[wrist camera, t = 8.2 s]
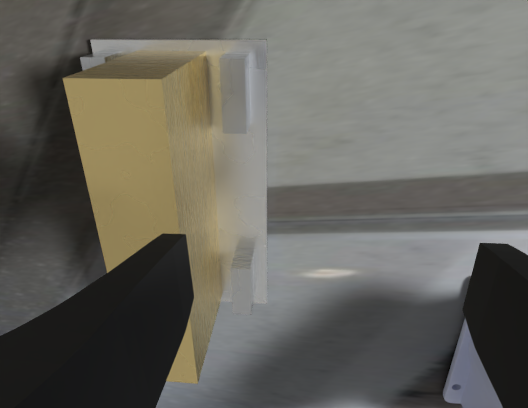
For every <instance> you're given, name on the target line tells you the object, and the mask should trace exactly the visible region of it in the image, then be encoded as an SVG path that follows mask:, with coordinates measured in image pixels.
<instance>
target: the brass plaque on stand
mask: <svg viewBox="0 0 528 408" xmlns="http://www.w3.org/2000/svg"><path fill="white" fill-rule="evenodd" d="M63 82H64V86H65V91H66V95H67V99H68V104H69V108H70V113H71V117H72V121H73V126H74V130H75V134H76V139H77V143H78V147H79V152H80V156H81V161H82V165H83V169H84V174H85V178H86V182H87V187H88V191H89V195H90V200H91V204H92V208H93V213H94V217H95V222H96V226H97V230H98V235H99V239H100V243H101V248H102V252H103V256H104V261H105V265H106V269H107V273H108V272H110V271H111V270H112V269H114V268H115V267H116V266H118V265H119V264H121V263H122V262H123V261H125V260H126V259H128V258H129V257H130V256H132V255H133V254H134V253H136V252H137V251H138V250H140V249H141V248H143V247H144V246H145V245H147V244H148V243H149V242H151V241H152V240H154V239H155V238H156V237H158V236H160V235H161V234H163V233H166V234H186V239H187V246H188V254H189V261H190V269H191V276H192V284H193V291H194V300H193V304H192V308H191V313H190V317H189V320H188V324H187V328H186V332H185V334H184V337H183V340H182V342H181V345H180V347H179V350H178V352H177V355H176V357H175V360H174V362H173V365H172V367H171V370H170V372H169V375H168V377H167V380H166V381H170V382H183V383H197V384H198V381H199V377H200V373H201V370H202V366H203V363H204V359H205V355H206V352H207V348H208V344H209V341H210V337H211V334H212V330H213V326H214V323H215V319H216V315H217V312H218V308H219V305H220V301H221V297H222V294H223V293H222V278H221V263H220V249H219V234H218V219H217V204H216V190H215V175H214V160H213V145H212V131H211V116H210V101H209V86H208V72H207V57H206V51H135V52H132V53H130V54H127V55H124V56H121V57H119V58H116V59H113V60H111V61H108V62H105V63H102V64H100V65H97V66H94V67H92V68H89V69H86V70H83V71H81V72H78V73H75V74H73V75H70V76H67V77H64V78H63Z"/></svg>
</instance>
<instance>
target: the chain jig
mask: <svg viewBox="0 0 528 408" xmlns="http://www.w3.org/2000/svg"><path fill="white" fill-rule="evenodd" d="M90 41H91V46H92V52H93V54H89V55H86V56H83V57H80V60H81V65H82V69H83V70H86V69H89V68H92V67H94V66H97V65H100V64H102V63H105V62H108V61H111V60H113V59H116V58H119V57H121V56H124V55H127V54H130V53H132V52H135V51H206V57H207V72H208V86H209V101H210V116H211V131H212V145H213V160H214V175H215V190H216V204H217V219H218V234H219V249H220V263H221V278H222V293H223V294H222V297H221V301H227V302H232V309H233V314H243V315H251V314H252V308H253V303H261V304H267V39H91V40H90Z"/></svg>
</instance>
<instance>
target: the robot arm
mask: <svg viewBox="0 0 528 408" xmlns="http://www.w3.org/2000/svg"><path fill="white" fill-rule="evenodd" d="M193 300H194V291H193V284H192V276H191V269H190V261H189V254H188V246H187V239H186V234H166V233H163V234H161V235H160V236H158V237H156V238H155V239H154V240H152V241H151V242H149V243H148V244H147V245H145V246H144V247H143V248H141V249H140V250H138V251H137V252H136V253H134V254H133V255H132V256H130V257H129V258H128V259H126V260H125V261H123V262H122V263H121V264H119V265H118V266H116V267H115V268H114V269H112V270H111V271H110V272H108V273H107V274H105V275H104V276H102V277H101V278H99V279H98V280H96V281H95V282H93V283H92V284H90V285H89V286H87V287H86V288H84V289H83V290H81V291H80V292H78V293H77V294H75V295H74V296H72V297H71V298H69V299H67V300H66V301H64V302H62V303H61V304H59V305H57V306H56V307H54V308H52V309H51V310H49V311H47V312H45V313H44V314H42V315H40V316H38V317H36V318H34V319H33V320H31V321H29V322H27V323H25V324H24V325H22V326H20V327H18V328H16V329H14V330H12V331H10V332H8V333H6V334H3V335H1V336H0V408H155V407H156V405H157V402H158V400H159V397H160V395H161V392H162V390H163V387H164V385H165V382H166V380H167V377H168V375H169V372H170V370H171V367H172V365H173V362H174V360H175V357H176V355H177V352H178V350H179V347H180V345H181V342H182V340H183V337H184V334H185V332H186V328H187V324H188V320H189V317H190V313H191V308H192V304H193ZM463 312H464V315H465V320H464V323H463V327H462V330H461V333H460V337H459V340H458V343H457V347H456V350H455V354H454V357H453V360H452V364H451V367H450V370H449V374H448V377H447V380H446V384H445V387H444V390H443V397H444V399H445V401H447V402H449V403H457V404H461V405H462V407H463V408H528V255H526V254H525V253H523V252H521V251H520V250H518V249H516V248H514V247H512V246H510V245H508V244H495V243H480V245H479V249H478V252H477V256H476V260H475V264H474V268H473V272H472V276H471V279H470V283H469V287H468V291H467V295H466V299H465V302H464V306H463Z"/></svg>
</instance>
